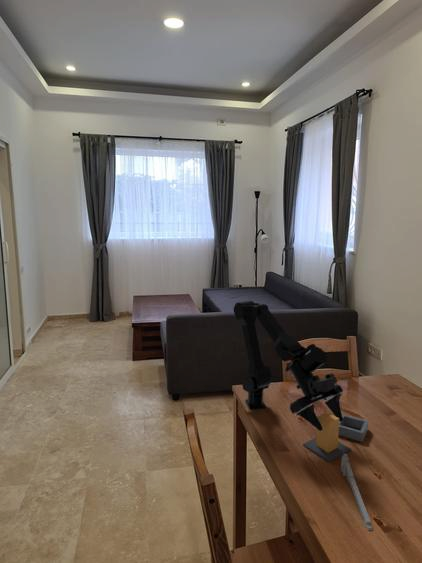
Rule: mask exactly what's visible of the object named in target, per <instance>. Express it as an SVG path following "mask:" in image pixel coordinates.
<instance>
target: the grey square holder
mask: <svg viewBox="0 0 422 563" xmlns="http://www.w3.org/2000/svg"><path fill="white" fill-rule="evenodd" d="M342 418H343V420H342V421H339V434H338V436H341V437H343V438H346V439H347V438H348V439H351V440H353V441H357V442H361V443H363V442H364V440H365V437H366V435H367V432H368V429H369V420H366V419H362V418H358V417H354V416H350V415H347V414H344V413H342Z"/></svg>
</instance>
